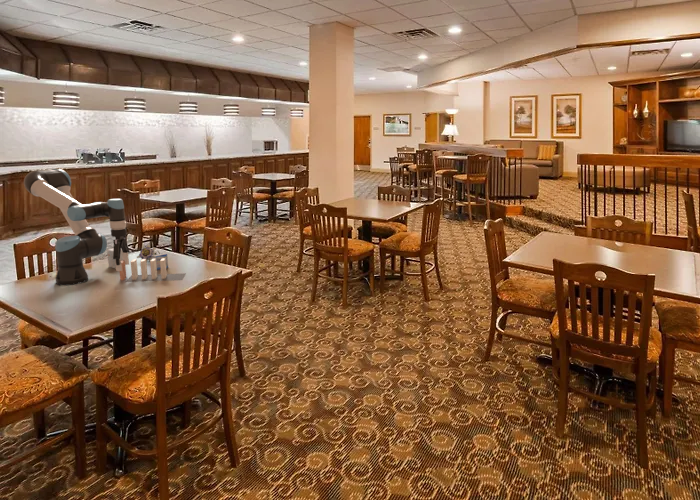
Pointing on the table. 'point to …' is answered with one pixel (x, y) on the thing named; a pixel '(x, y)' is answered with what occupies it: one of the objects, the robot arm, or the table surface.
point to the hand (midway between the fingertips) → (122, 267)
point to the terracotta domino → (123, 271)
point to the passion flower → (147, 253)
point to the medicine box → (159, 257)
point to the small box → (110, 258)
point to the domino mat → (158, 278)
